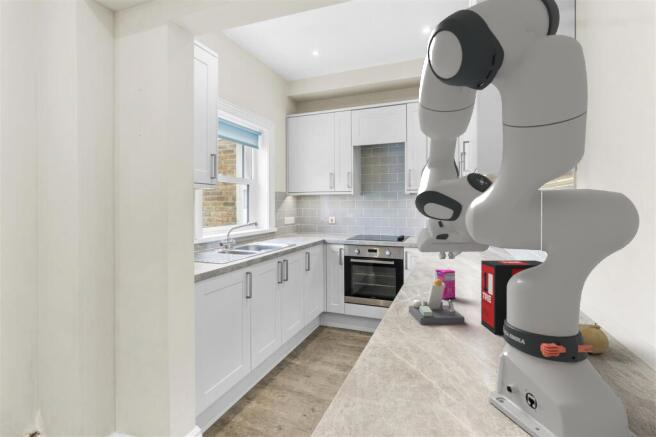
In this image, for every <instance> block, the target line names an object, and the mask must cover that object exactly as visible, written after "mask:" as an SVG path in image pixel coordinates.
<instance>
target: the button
mask: <svg viewBox="0 0 656 437" xmlns="http://www.w3.org/2000/svg"><path fill="white" fill-rule="evenodd" d="M412 303H413V305H412V306H413V307H416V308H420V306H423V305H422V304H423V301H422V300H421V299H413V302H412Z"/></svg>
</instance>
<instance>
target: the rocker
mask: <svg viewBox="0 0 656 437" xmlns="http://www.w3.org/2000/svg"><path fill="white" fill-rule="evenodd" d="M419 310H420V312H421V313H422V315H423V316H432V311H431V309H430V308H429V307H428V306H423V305H422V306H420V309H419Z"/></svg>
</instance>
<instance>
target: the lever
mask: <svg viewBox="0 0 656 437" xmlns="http://www.w3.org/2000/svg"><path fill="white" fill-rule="evenodd" d="M444 287H445V284H444V282H442V281H441V280H440V279H436V280H435V279H434V281H433V282H432V281H431V282H430V286H429V292H428V296H427V301H426V302H427V306H428V307H429V308H430V309H440V304H441V301H442V300H443V299H442V296H443V292H444Z"/></svg>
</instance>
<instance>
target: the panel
mask: <svg viewBox="0 0 656 437" xmlns="http://www.w3.org/2000/svg"><path fill="white" fill-rule="evenodd" d="M422 304H423V305H422V306H427V301H426V300H423V301H422ZM419 309H420V308H416V307H413V305H409V306H408V312H409V313H410V314H411V316H412V317H413V318H414V319H415V320H416V321H417V323H419V325H455V324H456V325H457V324H459V325H460V324H464V325H465V322H466V321H465V316H463V315H462V314H461V313H459V312H458V311H457V310H455V311H456V313H449V304H448V305H447V304H444V303H443V301H442V300H441V304H440V309H431V311H432V316H423V315H422V313H421V312H420V310H419Z"/></svg>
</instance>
